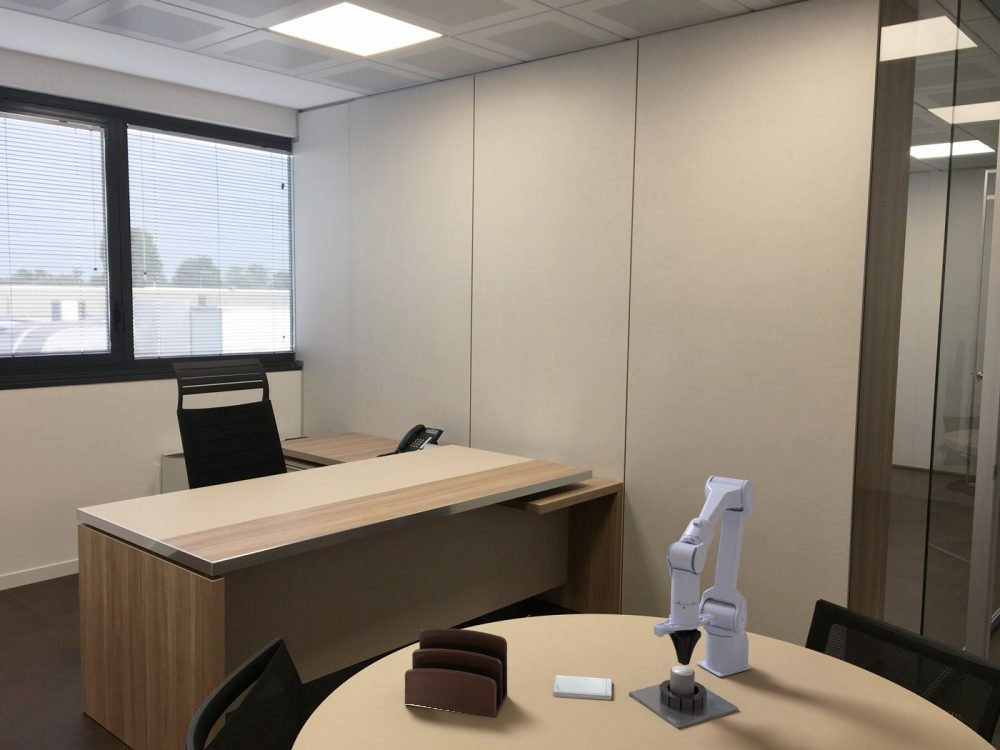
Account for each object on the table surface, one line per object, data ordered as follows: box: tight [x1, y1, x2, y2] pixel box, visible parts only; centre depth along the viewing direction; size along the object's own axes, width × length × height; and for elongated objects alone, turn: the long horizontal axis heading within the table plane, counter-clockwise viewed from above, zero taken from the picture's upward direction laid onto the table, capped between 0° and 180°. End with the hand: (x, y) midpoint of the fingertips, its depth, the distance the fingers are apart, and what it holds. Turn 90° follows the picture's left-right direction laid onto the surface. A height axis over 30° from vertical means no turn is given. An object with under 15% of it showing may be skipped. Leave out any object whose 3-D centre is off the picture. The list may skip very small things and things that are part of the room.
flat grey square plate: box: [628, 679, 740, 730], centre depth 174 cm, size 16×16×3 cm
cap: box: [669, 665, 696, 696], centre depth 174 cm, size 5×5×6 cm
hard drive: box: [552, 674, 613, 701], centre depth 180 cm, size 2×8×12 cm
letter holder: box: [404, 627, 508, 718], centre depth 174 cm, size 10×20×14 cm, turn 75°
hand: (683, 663), depth 173 cm, fingers closed
